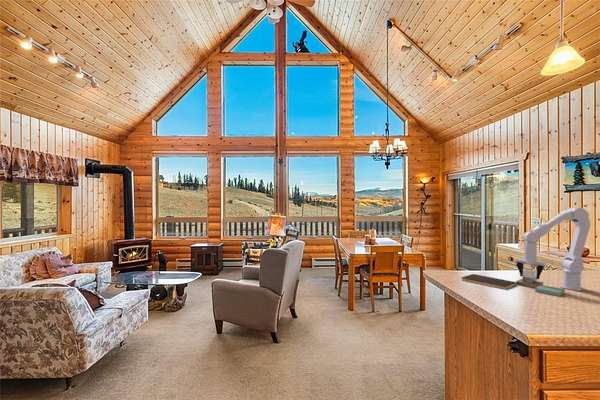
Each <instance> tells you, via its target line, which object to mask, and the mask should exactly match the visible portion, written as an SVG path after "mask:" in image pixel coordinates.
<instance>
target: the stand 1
mask: <svg viewBox="0 0 600 400" xmlns="http://www.w3.org/2000/svg"><path fill="white" fill-rule="evenodd" d="M515 282H516V285H515V286H521V287H527V288H531V289H535V288H536V287H538V286H540V285H544V282H542V281H538V280H537V282H535V283H533V284H531V283H526V282H523V278H520V279H517V280H515Z"/></svg>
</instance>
